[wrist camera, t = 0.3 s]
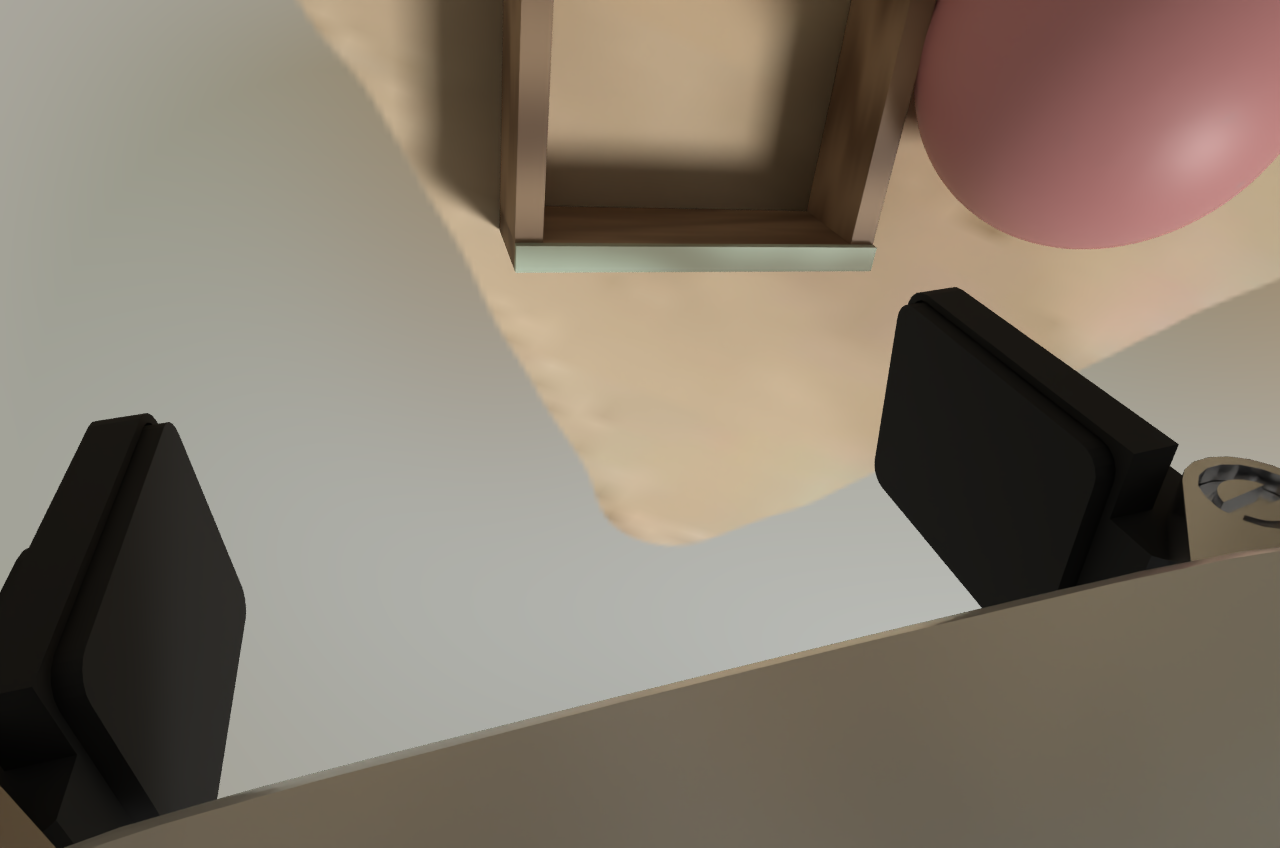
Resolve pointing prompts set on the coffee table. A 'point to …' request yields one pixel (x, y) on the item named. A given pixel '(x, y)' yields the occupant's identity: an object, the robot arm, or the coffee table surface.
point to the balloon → (1099, 112)
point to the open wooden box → (716, 238)
